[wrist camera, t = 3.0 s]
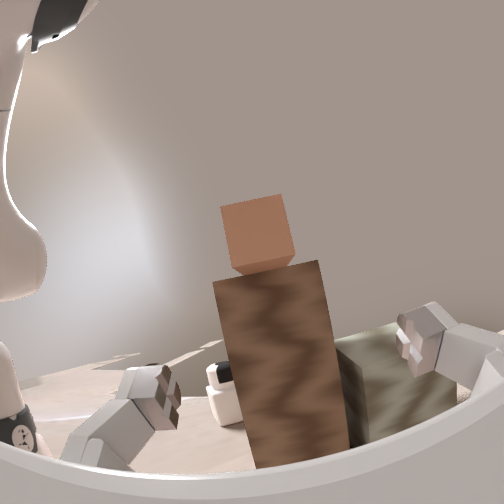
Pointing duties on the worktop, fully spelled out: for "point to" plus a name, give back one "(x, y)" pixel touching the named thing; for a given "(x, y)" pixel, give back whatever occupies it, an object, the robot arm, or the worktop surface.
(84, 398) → the worktop surface
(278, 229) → the peach rectangular bar
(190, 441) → the worktop surface
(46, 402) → the worktop surface
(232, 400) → the medicine bottle
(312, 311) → the stand
